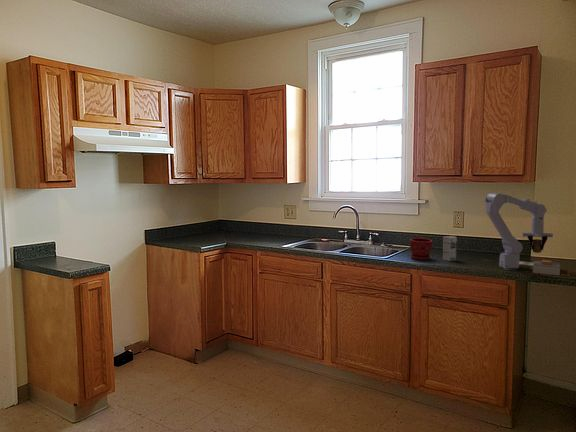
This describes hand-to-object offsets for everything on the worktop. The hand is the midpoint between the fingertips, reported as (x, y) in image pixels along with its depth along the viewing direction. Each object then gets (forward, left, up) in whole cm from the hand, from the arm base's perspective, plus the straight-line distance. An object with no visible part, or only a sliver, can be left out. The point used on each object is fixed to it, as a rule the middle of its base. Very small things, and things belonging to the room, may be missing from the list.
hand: (537, 249), depth 244 cm
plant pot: (-55, +29, -11) cm, 64 cm away
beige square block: (-1, +8, -10) cm, 13 cm away
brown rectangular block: (0, 0, -1) cm, 1 cm away
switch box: (0, -10, -10) cm, 14 cm away
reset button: (0, -10, -8) cm, 12 cm away
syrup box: (-39, +24, -11) cm, 47 cm away
